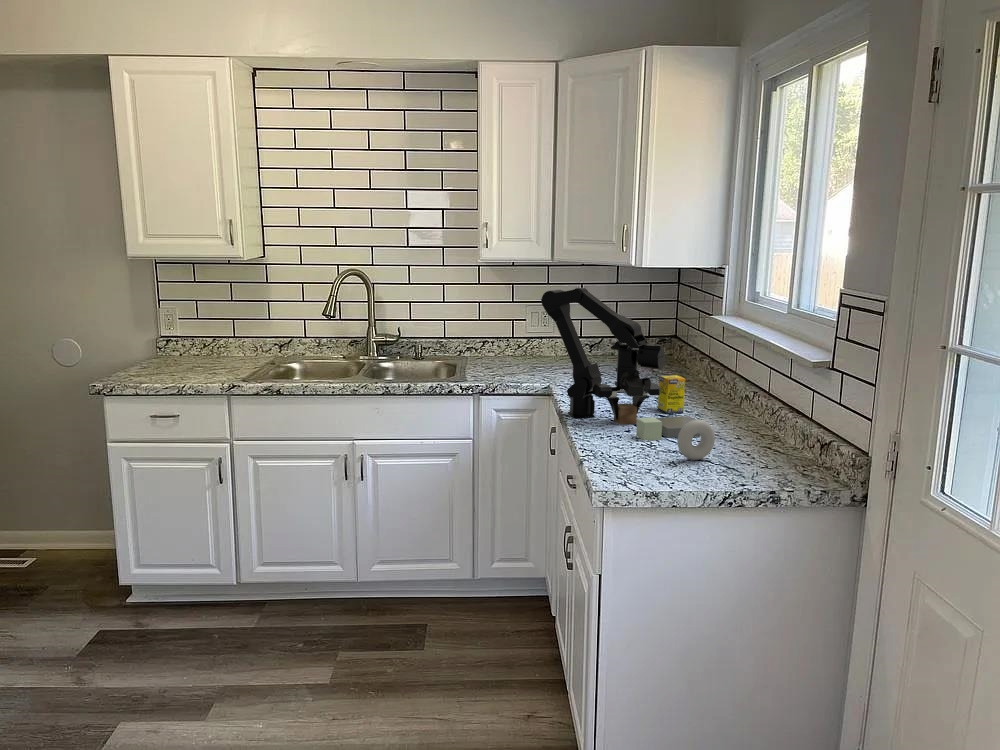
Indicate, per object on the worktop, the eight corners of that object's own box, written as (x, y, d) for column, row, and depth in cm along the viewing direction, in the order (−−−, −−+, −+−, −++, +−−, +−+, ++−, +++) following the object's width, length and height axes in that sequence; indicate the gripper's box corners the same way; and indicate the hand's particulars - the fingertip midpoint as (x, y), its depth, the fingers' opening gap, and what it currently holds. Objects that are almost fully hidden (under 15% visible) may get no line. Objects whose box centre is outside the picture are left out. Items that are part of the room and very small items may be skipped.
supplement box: (666, 414, 231) (668, 379, 229) (657, 410, 237) (658, 375, 235) (683, 413, 233) (685, 378, 231) (674, 409, 238) (676, 374, 236)
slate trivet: (667, 437, 205) (668, 428, 204) (649, 426, 216) (649, 418, 216) (708, 435, 207) (709, 426, 207) (688, 424, 219) (689, 416, 218)
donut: (708, 455, 189) (710, 416, 187) (716, 459, 185) (719, 419, 183) (673, 459, 185) (675, 419, 183) (681, 463, 182) (683, 423, 180)
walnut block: (620, 424, 218) (620, 407, 217) (613, 420, 223) (614, 403, 222) (636, 424, 219) (637, 407, 218) (629, 419, 224) (630, 403, 223)
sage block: (643, 441, 202) (644, 422, 201) (636, 436, 207) (637, 418, 206) (661, 440, 203) (662, 421, 202) (653, 435, 208) (654, 417, 207)
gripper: (606, 371, 208) (604, 427, 211) (669, 369, 212) (666, 424, 215) (592, 364, 219) (591, 417, 222) (653, 363, 223) (650, 415, 226)
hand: (625, 418), depth 221 cm, fingers closed on walnut block, 5 cm apart
